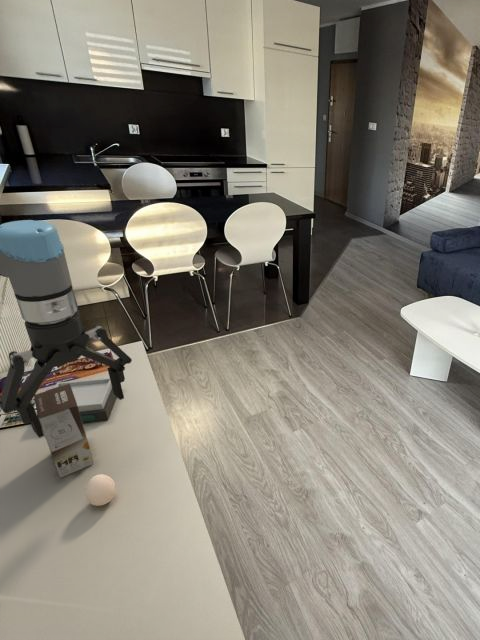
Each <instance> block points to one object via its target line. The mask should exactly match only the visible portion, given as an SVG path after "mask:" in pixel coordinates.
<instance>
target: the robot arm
mask: <svg viewBox="0 0 480 640" xmlns="http://www.w3.org/2000/svg"><path fill="white" fill-rule="evenodd" d="M58 232H59V231H58V229H57V227H56V226H55V225H54V224H52V223H51V222H49V221H47V220H40V219H39V220H33V219H23V220H14V221H7V222H4V223H2V224H0V276H1V277H3V278H4V277H5V278H7V279H8V281H9V283H10V285H11V288H12V291H13V293H14V297H15V300H16V302H17V306H18V309H19V312H20V316H21V319H22V320H24V326H25V329H26V333H27V335H28V339H29V341H30V349H29V350H25V351H20V352H18V351H15V350H13V351H10V352H9V353H8V361H9V367H8V371H7V374H6V378H5V381H4V385H3V388H2V391H1V394H0V409H1V410H2V412H3V413H4V414H9V413H12V412H13V411H16V413H17V414H18V417H19V420H20V421H21V422H22V423H23V425H28V424H30V425H31V428H32V431H33V432H34V433H35V435H36V436H37V437H38V438H39V439H40V438H42V437H45V435H44V432H43V429H42V428H41V425H40V423H39V420H38V415H37V411H36V408H35V407H34V405H33V404H32V403H31V402H32V400H33V399H34V395H35V394H37V393H38V390H39V389H40V387H41V386H42V384H43V382H44V381H45V379H46V377H47V376H48V375H49V374H51V372H52V371H53V370H54V368H55V367H57V368H61V367H63V366H65V365H66V364H68V363H74V362H76V361H79V359H80V357H81V356H82V357H84V358H87V359H91V360H93V361H95V362H97V363H100V364H102V365H104V366H107V372H108V376H109V377H108V378H110V381H111V385H112V389H113V393H114V395H115V396H116V397H117V399H118V400H120V401H121V400H123V399H125V395H124V392H123V387H122V383H124V382H125V379H126V378H125V373H124V371H125V370H126V367H125V366H126V365H127V364H128V365H129V364H131V363H132V361H133V360H132V358H131V357H130V356H129V355H128V354H127V353H126V352H125V351H124V350H123V349H122V348H120V347H119V346H118V345H117V344H116V343H115V342H114V341H113V340H112V339H110V338H109V335H108V333H107V330H106V329H105V328H104V327H102V326H101V325H99V324H94V325H93V326H92V329H89V330H87V331H85V327H84V323H83V321H82V316H81V313H80V311H79V310H78V309H79V305H78V302H77V298H76V294H75V291H74V287H73V283H72V279H71V275H70V271H69V266H68V262H67V259H66V254H65V247H64V244H63V243H62V241H61V238H60V236H59V235H60V234H59V233H58ZM90 339H93V340H95V341H100V342H101V343H102V344H103V345H104V346H105V347H107V349H109V350H110V351H111V352H112V353H113V354H114V355H116V356H117V357H118V358H117V359H115V358H113V357H110V356H108V355H105V354H104V353H101V352H99V351H96V350H95V349H93V348H90V347H88V344H89V342H90ZM31 359H35V360H36V361H35V363H34V365H33V368H32V370H31V371H30V373H29V375H28V376H27V379H25V381H24V383H23V385H22V386H21V384H22V381H23V377H24V374H25V369H26V368H25V367H26V366H28V364H29V362H30V360H31Z"/></svg>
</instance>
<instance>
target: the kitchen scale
mask: <svg viewBox="0 0 480 640" xmlns="http://www.w3.org/2000/svg"><path fill="white" fill-rule="evenodd" d="M67 384H70V386H71V389H72V391H73V394H74V397H75V400H76V402H77V406H78V409H79V412H80V416H81V419H82V422H83V424H88V423H90V424H91V423H97V422H106V421H109V419H110V416H111V414H112V411H113V408H114V406H115V404H116V401H117V399H118V398H117V397H116V396H115V395H114V393H113V389H112V385H111V381H110V377H103V378H92V379H81V380H80V379H79V380H69V381H60V382H56V384H55V385H54V387H53V388H56V387H59V386H63V385H67ZM38 420H39V419H38ZM39 423H40V421H39ZM40 425H41V423H40ZM41 428H42V426H41Z"/></svg>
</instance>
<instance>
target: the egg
mask: <svg viewBox="0 0 480 640" xmlns="http://www.w3.org/2000/svg"><path fill="white" fill-rule="evenodd" d="M84 491H85V493H84V494H85V498H86V500H87V502H88V503H89V504H90V505H92V506H96V507H100V506H104V505H107V504H108V503H109V502H110V501H111V500H112V499H114V497H115V493H116V484H115V480H114V479H112V477H110V476H109V475H107V474H104V473H100V474H99V473H98V474H96V475H94V476H92V477H91V478H90V479H89V481H88V482H87V484H86V487H85V490H84Z"/></svg>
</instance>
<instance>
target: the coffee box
mask: <svg viewBox="0 0 480 640" xmlns="http://www.w3.org/2000/svg"><path fill="white" fill-rule="evenodd" d="M33 399H34V403H35V411H36V414H37V417H38V419H39V421H40V423H41V426H42V431H43V434H44V437H45V440H46V443H47V446H48V448H49V451H50V454H51V457H52V460H53V462H54V465H55V468H56V471H57V474H58V477H59V478H60V479H61V478H64V477H66V476H68V475H70V474H73V473H76V472H79V471H80V470H83V469H85V468H88V467H89V466H92V465H94V458H93V454H92V450H91V446H90V443H89V440H88V436H87V433H86V429H85V426H84V423H83V422H82V419H81V416H80V412H79V409H78V406H77V402H76V400H75V397H74V394H73V391H72V389H71V386H70V384H67V385H63V386H59V387H56V388H54V387H53V388H50V389H46V390H45V391H42V392H39V393H38V392H37V393H36V394H35V395H34V397H33Z"/></svg>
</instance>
